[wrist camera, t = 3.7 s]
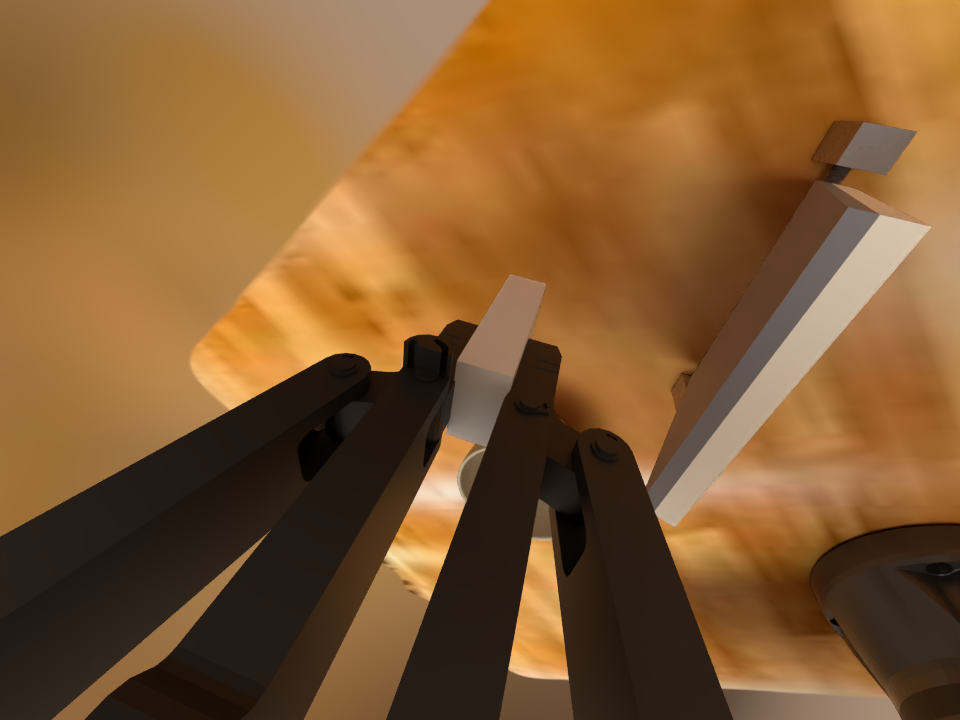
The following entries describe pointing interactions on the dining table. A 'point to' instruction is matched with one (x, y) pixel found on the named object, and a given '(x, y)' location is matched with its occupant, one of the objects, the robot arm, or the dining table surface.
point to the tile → (779, 333)
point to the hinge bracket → (847, 167)
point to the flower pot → (467, 478)
